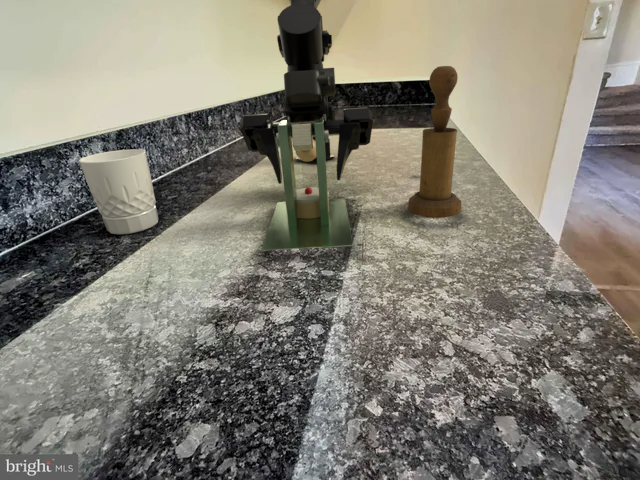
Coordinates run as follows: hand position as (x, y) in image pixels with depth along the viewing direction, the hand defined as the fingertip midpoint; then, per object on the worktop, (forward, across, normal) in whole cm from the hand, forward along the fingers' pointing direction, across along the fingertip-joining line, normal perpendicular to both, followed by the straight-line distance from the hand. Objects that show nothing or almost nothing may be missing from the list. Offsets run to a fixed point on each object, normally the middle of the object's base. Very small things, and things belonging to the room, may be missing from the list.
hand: (309, 180), depth 51 cm
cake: (+5, 0, 0) cm, 5 cm away
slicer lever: (-1, 0, -5) cm, 5 cm away
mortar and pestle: (+7, +16, 0) cm, 18 cm away
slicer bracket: (+8, 0, -1) cm, 8 cm away
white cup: (+5, -25, +2) cm, 26 cm away
